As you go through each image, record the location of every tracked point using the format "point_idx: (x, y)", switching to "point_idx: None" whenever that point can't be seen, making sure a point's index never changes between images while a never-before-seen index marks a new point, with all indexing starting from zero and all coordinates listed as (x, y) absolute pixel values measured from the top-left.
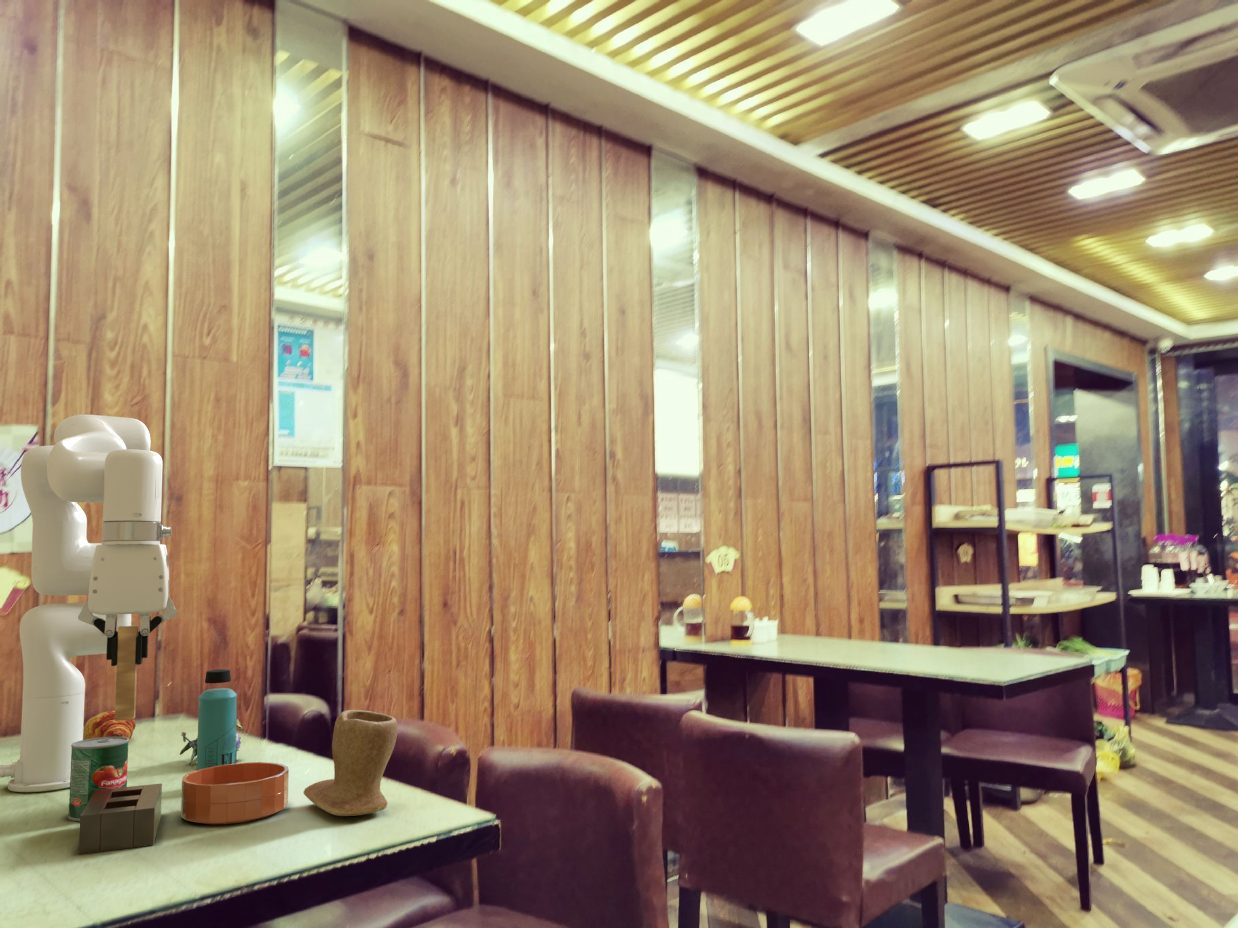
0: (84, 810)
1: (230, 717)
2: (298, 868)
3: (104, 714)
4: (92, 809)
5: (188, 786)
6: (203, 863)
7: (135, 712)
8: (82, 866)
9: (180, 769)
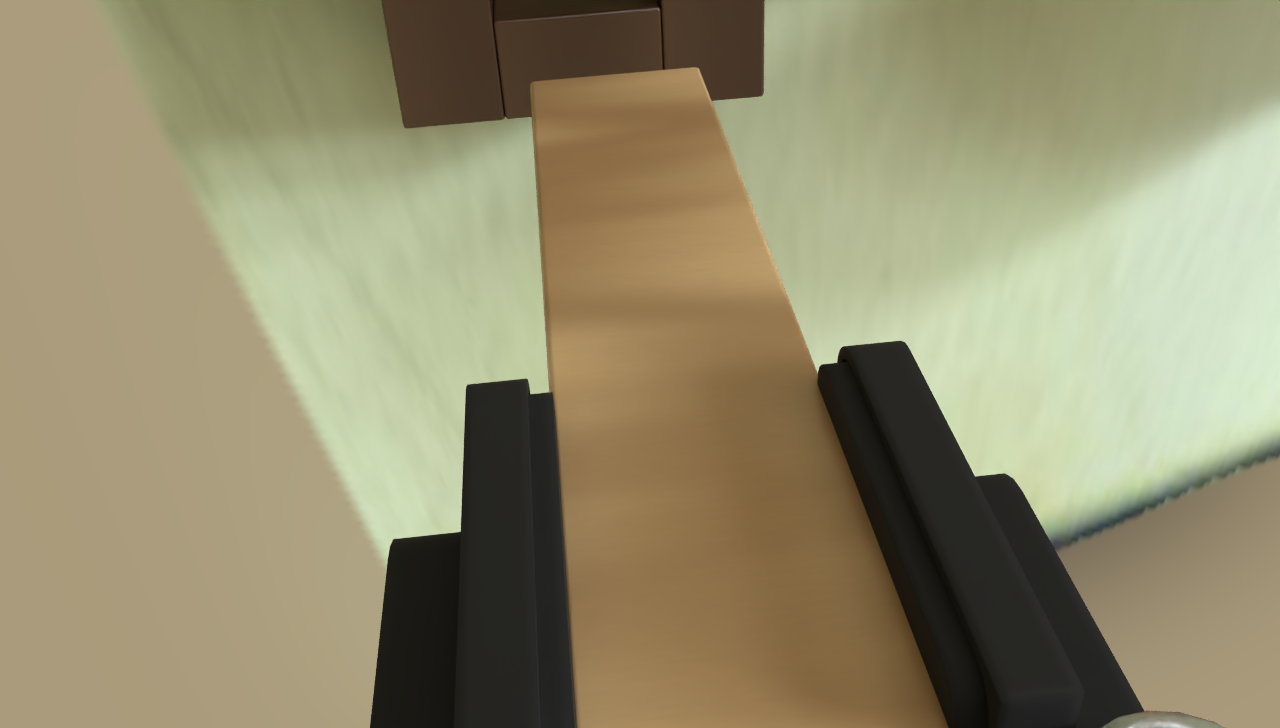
0: (391, 14)
1: None
2: (1187, 469)
3: None
4: (430, 4)
5: None
6: (921, 338)
7: (705, 86)
8: (484, 234)
9: None
